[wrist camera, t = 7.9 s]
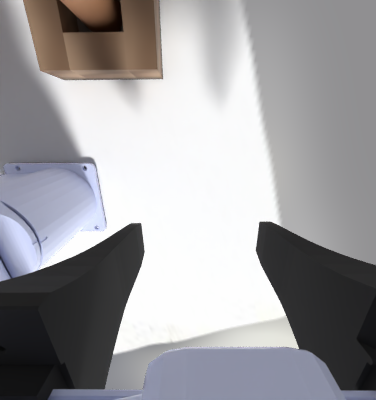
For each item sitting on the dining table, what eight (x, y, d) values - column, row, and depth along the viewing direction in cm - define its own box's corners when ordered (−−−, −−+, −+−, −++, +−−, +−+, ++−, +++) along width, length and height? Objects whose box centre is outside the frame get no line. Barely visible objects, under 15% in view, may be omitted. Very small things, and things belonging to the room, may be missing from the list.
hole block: (64, 80, 17) (40, 70, 14) (35, -61, 14) (-3, -108, 11) (162, 79, 17) (157, 69, 14) (156, -63, 14) (147, -112, 11)
